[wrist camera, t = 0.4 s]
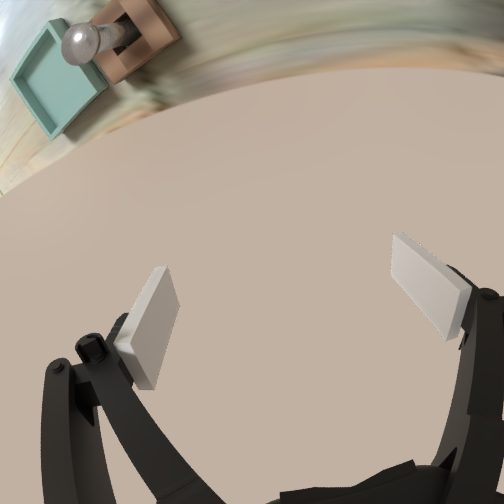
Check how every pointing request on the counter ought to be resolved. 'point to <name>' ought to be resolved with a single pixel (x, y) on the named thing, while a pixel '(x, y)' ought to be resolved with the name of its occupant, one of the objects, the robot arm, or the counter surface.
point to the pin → (96, 40)
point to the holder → (142, 50)
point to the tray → (55, 81)
